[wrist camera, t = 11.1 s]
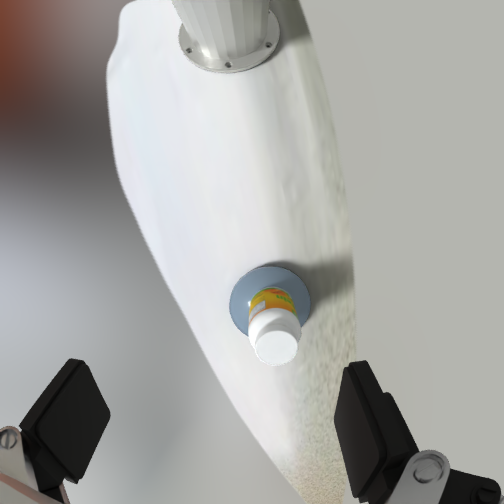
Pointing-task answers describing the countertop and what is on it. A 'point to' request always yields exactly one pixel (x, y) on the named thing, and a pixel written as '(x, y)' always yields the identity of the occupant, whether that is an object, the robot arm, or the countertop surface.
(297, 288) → the pale blue round plate
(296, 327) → the supplement bottle
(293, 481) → the countertop surface
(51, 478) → the robot arm
